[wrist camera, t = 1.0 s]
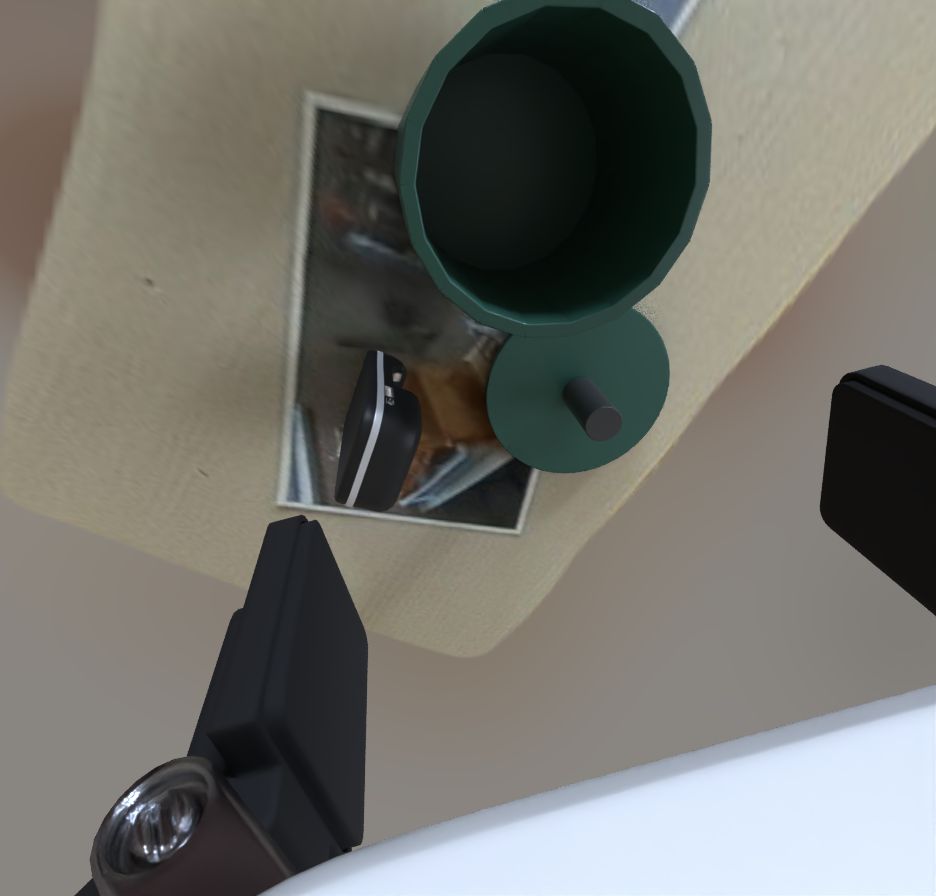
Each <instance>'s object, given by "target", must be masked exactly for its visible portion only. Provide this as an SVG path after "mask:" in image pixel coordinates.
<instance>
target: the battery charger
mask: <svg viewBox="0 0 936 896" xmlns="http://www.w3.org/2000/svg"><path fill="white" fill-rule="evenodd" d="M405 377H406V369H405V367H404V365H403V364H402V363H401V362H400V361H399V360H397V359H395V358H394V357H392V356H389V355H386V354H383V352H381V351H373V350H370V351H368V352H367V354H366V357H365V360H364V363H363V366H362V370H361V373H360V376H359V379H358V382H357V385H356V388H355V392H354V395H353V398H352V401H351V404H350V407H349V411H348V414H347V417H346V420H345V423H344V430H343V437H342V444H341V451H340V458H339V465H338V472H337V479H336V487H335V496H334V497H335V500H336V501H337V502H338V503H341V504H344V506H347V507H352V506H354V507H358V508H362V509H367V510H371V511H377V512H383V511H387V510H388V509H390V508H391V507H393V505H394V504H395V503H396V501H397V499H398V496H399V494H400V491H401V489H402V486H403V484H404V481H405V478H406V476H407V473H408V471H409V468H410V465H411V463H412V460H413V458H414V455H415V452H416V450H417V447H418V444H419V441H420V438H421V431H422V423H421V408H420V404H419V401H418V398H417V396H416V395H414V394H413V393H412V392H409V391H407V390H405V389H402V387H403V384H404V381H405Z"/></svg>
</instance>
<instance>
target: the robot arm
mask: <svg viewBox="0 0 936 896" xmlns="http://www.w3.org/2000/svg"><path fill="white" fill-rule="evenodd" d="M820 512H821V515H822V518H823V520H824V521H825V523H826V524H827V525H828V526H829V527H830V528H831V529H832V530H833V531H834V532H836V533H837V534H838V535H839V536H840V537H842V538H843V539H844V540H845V541H846V542H848V543H849V544H850V545H851V546H852V547H854V548H855V549H856V550H857V551H858V552H860V553H861V554H862V555H863V556H865V557H866V558H867V559H868V560H869V561H871V562H872V563H873V564H874V565H875V566H876V567H878V568H879V569H880V570H881V571H883V572H884V573H885V574H886V575H887V576H889V577H890V578H891V579H892V580H893V581H895V582H896V583H897V584H898V585H899V586H900V587H902V588H903V589H904V590H905V591H906V592H908V593H909V594H910V595H911V596H912V597H914V598H915V599H916V600H917V601H919V602H920V603H921V604H922V605H924V606H925V607H926V608H927V609H928V610H929V611H931V612H932V613H933V614H934V615H935V616H936V386H934V385H932V384H929V383H926V382H924V381H922V380H919V379H917V378H915V377H912V376H910V375H908V374H905V373H903V372H900V371H898V370H896V369H893V368H891V367H889V366H884V365H879V366H874V367H870V368H866V369H862V370H859V371H855V372H851V373H847V374H846V375H844V376H843V377H842V379H841V380H840V383H839V384H838V385H837V386H835V388H834V390H833V393H832V401H831V410H830V420H829V428H828V437H827V446H826V455H825V464H824V474H823V482H822V491H821V500H820ZM367 663H368V643H367V637H366V633H365V629H364V626H363V624H362V622H361V619H360V617H359V615H358V612H357V610H356V608H355V605H354V603H353V601H352V598H351V596H350V594H349V591H348V589H347V586H346V584H345V582H344V579H343V577H342V575H341V572H340V570H339V568H338V565H337V563H336V561H335V558H334V556H333V554H332V551H331V549H330V547H329V544H328V542H327V540H326V537H325V535H324V533H323V530H322V528H321V526H320V524H319V522H318V521H317V520H313V521H309V522H308V520H307V519H306V517H305V516H303V515H299V516H295V517H291V518H287V519H284V520H280V521H276V522H272V523H270V524H269V525H268V527H267V531H266V534H265V537H264V540H263V544H262V547H261V550H260V554H259V557H258V560H257V564H256V567H255V570H254V574H253V577H252V580H251V584H250V587H249V590H248V594H247V597H246V600H245V604H244V607H243V608H241V609H238V610H237V611H236V612H235V613H234V614H233V616H232V618H231V620H230V623H229V626H228V629H227V632H226V636H225V639H224V642H223V645H222V648H221V651H220V654H219V657H218V660H217V664H216V667H215V670H214V673H213V676H212V679H211V682H210V685H209V689H208V692H207V695H206V698H205V701H204V704H203V707H202V710H201V713H200V716H199V720H198V723H197V726H196V729H195V732H194V735H193V739H192V741H191V745H190V748H189V751H188V754H187V757H182V758H177V759H173V760H171V761H169V762H167V763H165V764H162V765H160V766H158V767H156V768H154V769H153V770H151V771H150V772H148V773H147V774H146V775H144V776H143V777H141V778H140V779H139V780H137V781H136V782H135V783H134V784H133V785H132V786H131V787H130V788H129V789H128V790H127V791H126V792H125V793H124V794H123V795H122V796H121V797H120V798H119V799H118V800H117V802H116V803H115V804H114V806H113V807H112V808H111V810H110V811H109V812H108V814H107V815H106V817H105V818H104V820H103V822H102V824H101V826H100V828H99V831H98V832H97V834H96V836H95V838H94V843H93V847H92V851H91V856H90V864H91V871H92V877H93V878H92V879H91V880H90V881H89V882H88V883H87V884H86V885H85V886H84V887H83V888H82V889H81V890H80V891H79V892H78V893H77V894H76V895H75V896H936V685H932V686H928V687H925V688H921V689H917V690H914V691H910V692H906V693H903V694H899V695H895V696H892V697H888V698H884V699H881V700H877V701H873V702H869V703H865V704H862V705H858V706H854V707H851V708H847V709H843V710H840V711H836V712H832V713H829V714H825V715H821V716H818V717H814V718H810V719H807V720H803V721H799V722H796V723H792V724H788V725H785V726H781V727H777V728H774V729H770V730H766V731H763V732H759V733H756V734H752V735H748V736H745V737H741V738H737V739H734V740H730V741H726V742H722V743H719V744H715V745H711V746H708V747H704V748H701V749H697V750H693V751H690V752H686V753H683V754H679V755H675V756H672V757H668V758H665V759H661V760H657V761H654V762H650V763H647V764H643V765H640V766H636V767H632V768H629V769H625V770H621V771H618V772H615V773H611V774H608V775H603V776H600V777H596V778H593V779H589V780H586V781H582V782H579V783H575V784H572V785H568V786H564V787H560V788H557V789H554V790H550V791H546V792H542V793H539V794H535V795H532V796H528V797H525V798H521V799H518V800H514V801H511V802H507V803H504V804H501V805H497V806H494V807H491V808H487V809H484V810H481V811H477V812H474V813H471V814H467V815H464V816H460V817H457V818H454V819H450V820H447V821H444V822H440V823H437V824H433V825H431V826H427V827H424V828H420V829H417V830H413V831H410V832H407V833H403V834H400V835H397V836H394V837H391V838H389V839H386V840H383V841H380V842H377V843H374V844H371V845H368V846H366V847H363V848H360V849H357V850H354V851H352V847H355V846H358V845H360V844H361V843H362V839H363V831H364V791H365V789H364V787H365V749H366V746H365V745H366V708H367V667H368V665H367Z"/></svg>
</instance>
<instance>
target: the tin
mask: <svg viewBox="0 0 936 896" xmlns="http://www.w3.org/2000/svg"><path fill="white" fill-rule="evenodd" d="M694 63H695V62H694V61H693V59H692V58H691V57H690V55H689V54H688V53H687V51H686V50H685V49H684V47H683V46H682V45H681V43H680V42H679V41H678V40H677V38H676V37H675V36H674V34H673V33H672V32H671V30H670V29H669V28H668V26H667V25H666V24H665V22H664V21H663V20H662V18H661V17H660V16H659V15H658V14H657V13H655V12H654V11H652V10H650V9H648V8H646V7H644V6H643V5H641V4H639V3H637V2H635V1H633V0H501V1H498V2H496V3H494V4H491V5H489V6H487V7H484V8H483V9H482V10H480V11H479V12H478V13H477V14H476V15H475V16H474V17H473V18H472V19H471V20H470V21H469V22H468V23H467V24H466V25H465V26H464V27H463V28H462V29H461V31H460V32H459V33H458V34H457V35H456V36H455V37H454V38H453V39H452V40H451V41H450V42H449V43H448V44H447V45H446V46H445V47H444V48H443V49H442V50H441V51H440V52H439V53H438V54H437V55H436V56H435V58H434V59H433V60H432V62H431V64H430V65H429V67H428V69H427V70H426V72H425V74H424V75H423V77H422V79H421V80H420V82H419V84H418V85H417V87H416V89H415V91H414V93H413V95H412V98H411V100H410V102H409V104H408V106H407V108H406V111H405V113H404V115H403V117H402V119H401V122H400V124H399V126H398V132H397V141H396V151H395V160H394V176H395V181H396V186H397V190H398V195H399V200H400V204H401V209H402V213H403V217H404V221H405V224H406V228H407V232H408V235H409V239H410V242H411V245H412V247H413V249H414V251H415V252H416V254H417V256H418V257H419V259H420V261H421V262H422V264H423V266H424V267H425V269H426V271H427V272H428V274H429V276H430V277H431V279H432V281H433V282H434V284H435V286H436V287H437V289H438V290H439V291H440V293H442V294H443V295H444V296H445V297H446V298H448V299H449V300H450V301H451V302H453V303H454V304H455V305H456V306H458V307H459V308H460V309H461V310H463V311H464V312H465V313H466V314H467V315H469V316H470V317H471V318H472V319H474V320H475V321H476V322H479V323H480V324H482V325H485V326H488V327H491V328H494V329H497V330H500V331H503V332H507V333H510V334H513V335H516V336H519V337H522V338H542V337H569V336H574V335H577V334H579V333H582V332H585V331H587V330H590V329H592V328H595V327H597V326H600V325H603V324H605V323H608V322H610V321H613V320H615V319H617V318H619V317H620V316H621V315H623V314H624V313H625V312H626V311H628V310H629V309H630V308H631V307H633V306H634V305H635V304H636V303H638V302H639V301H640V300H641V299H643V298H644V297H645V296H646V295H648V294H649V293H650V292H651V291H652V290H654V289H655V288H656V287H657V286H658V285H660V283H661V282H662V281H663V279H664V278H665V276H666V275H667V273H668V272H669V270H670V269H671V268H672V266H673V265H674V263H675V262H676V260H677V259H678V257H679V256H680V255H681V253H682V252H683V250H684V249H685V247H686V246H687V244H688V243H689V242H690V239H691V237H692V234H693V231H694V228H695V225H696V222H697V219H698V216H699V213H700V210H701V207H702V204H703V202H704V199H705V196H706V193H707V190H708V187H709V183H710V163H711V137H712V123H711V122H712V121H711V117H710V114H709V110H708V107H707V103H706V100H705V96H704V93H703V89H702V86H701V82H700V79H699V75H698V72H697V68H696V65H695V64H694Z"/></svg>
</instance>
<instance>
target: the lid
mask: <svg viewBox="0 0 936 896" xmlns="http://www.w3.org/2000/svg"><path fill="white" fill-rule="evenodd" d="M669 376H670V370H669V360H668V355H667V350H666V348H665V345H664V342H663V340H662V338H661V336H660V335H659V333H658V331H657V330H656V328H655V327H654V326H653V325H652V323H651V322H650V321H649V320H648V319H647V318H645V317H644V316H643V315H642V314H641V313H639V312H638V311H636V310H635V309H633V308H632V307H631V308H630V309H629V310H628V311H626V312H625V313H624V314H623V315H621V316H620V317H619V318H617V319H615V320H613V321H610V322H608V323H605V324H603V325H600V326H597V327H595V328H592V329H590V330H587V331H585V332H582V333H579V334H577V335H574V336H569V337H542V338H522V337H519V336H516V335H513V334H509V336H508V337H507V338H506V339H505V340H504V342H503V343H502V345H501V347H500V348H499V350H498V351H497V353H496V355H495V357H494V360H493V362H492V364H491V367H490V370H489V373H488V377H487V383H486V392H485V401H486V410H487V414H488V418H489V421H490V424H491V426H492V429H493V431H494V433H495V435H496V437H497V438H498V440H499V442H500V443H501V444H502V445H503V447H504V448H505V449H506V450H507V451H508V452H509V453H510V454H511V455H512V456H514V457H515V458H517V459H518V460H519V461H521V462H522V463H525V464H527V465H529V466H531V467H533V468H536V469H539V470H542V471H547V472H553V473H576V472H582V471H587V470H591V469H594V468H597V467H600V466H602V465H605V464H607V463H609V462H611V461H613V460H615V459H617V458H619V457H620V456H622V455H623V454H625V453H626V452H627V451H629V450H630V449H631V448H632V447H634V446H635V445H636V444H637V443H638V442H639V441H640V440H641V439H642V438H643V437H644V436H645V435H646V433H647V432H648V431H649V430H650V428H651V427H652V425H653V424H654V422H655V421H656V419H657V417H658V416H659V413H660V411H661V409H662V407H663V405H664V402H665V399H666V396H667V391H668V386H669Z"/></svg>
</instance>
